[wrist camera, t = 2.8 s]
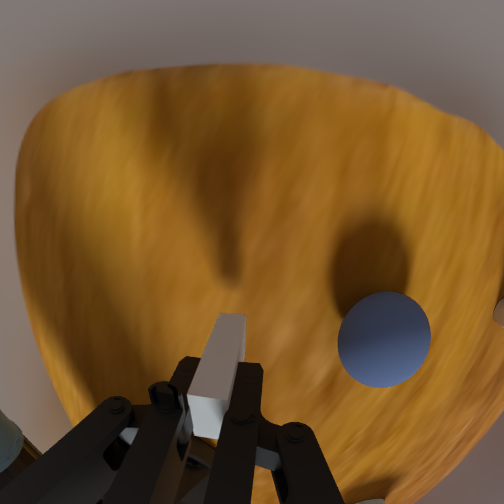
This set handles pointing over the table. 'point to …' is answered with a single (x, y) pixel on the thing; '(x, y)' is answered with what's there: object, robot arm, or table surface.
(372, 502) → the can
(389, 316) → the ball
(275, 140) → the table surface
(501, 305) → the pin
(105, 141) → the table surface
